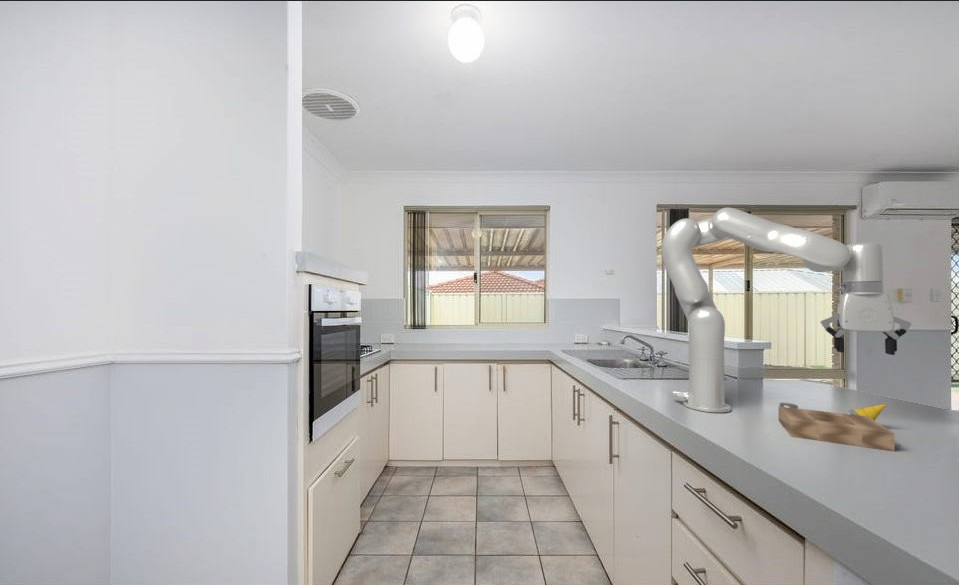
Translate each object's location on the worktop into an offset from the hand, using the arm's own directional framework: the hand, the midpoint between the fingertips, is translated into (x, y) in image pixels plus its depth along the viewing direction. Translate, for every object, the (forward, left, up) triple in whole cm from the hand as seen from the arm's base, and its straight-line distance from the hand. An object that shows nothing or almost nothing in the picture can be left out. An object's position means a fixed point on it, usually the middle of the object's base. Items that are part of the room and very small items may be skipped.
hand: (864, 353), depth 99 cm
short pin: (-16, -1, -20) cm, 26 cm away
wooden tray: (-10, -12, -20) cm, 25 cm away
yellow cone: (0, 0, -20) cm, 20 cm away
